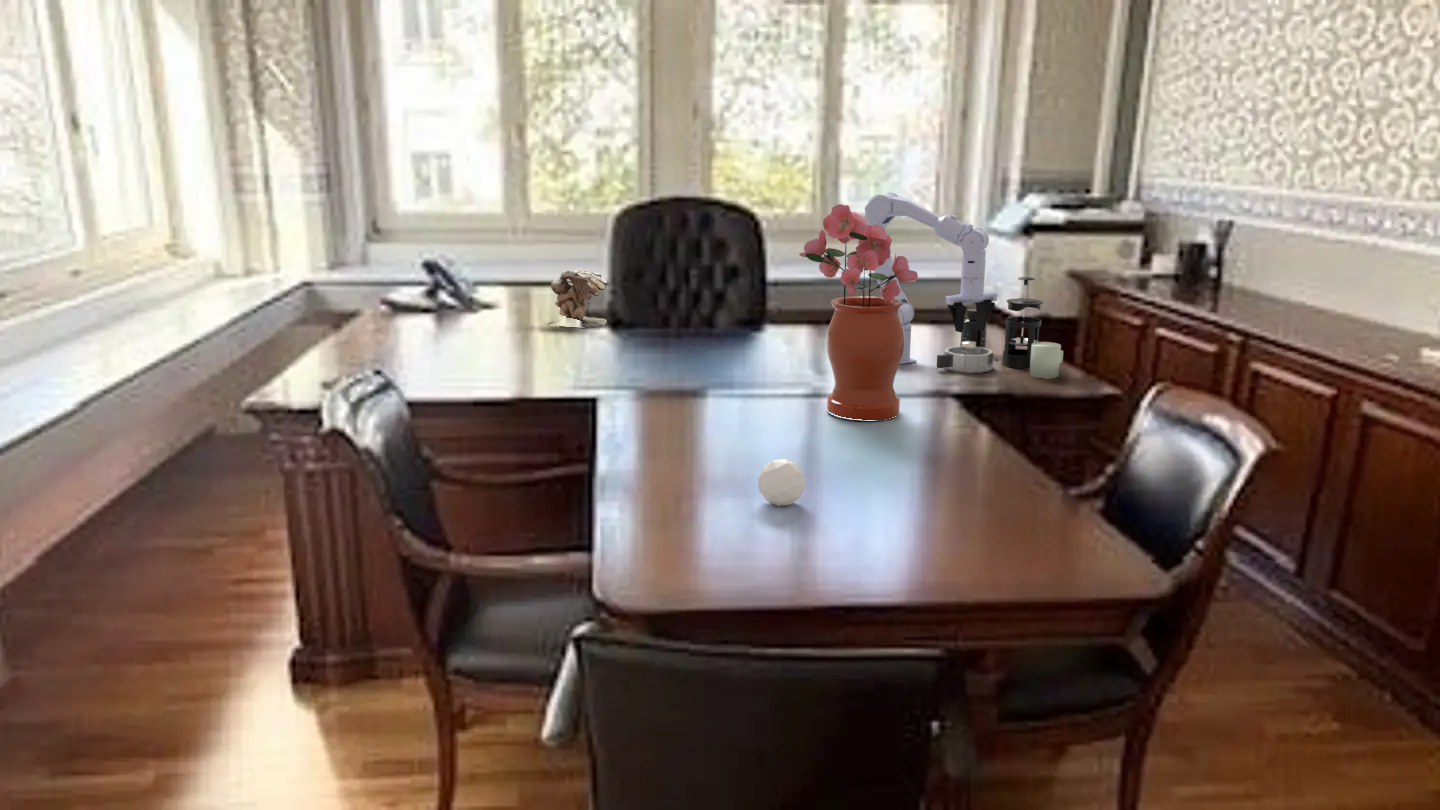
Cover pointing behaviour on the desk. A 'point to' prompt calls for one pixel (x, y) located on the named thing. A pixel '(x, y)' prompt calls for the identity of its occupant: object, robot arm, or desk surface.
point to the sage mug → (1045, 359)
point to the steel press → (966, 360)
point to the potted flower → (862, 318)
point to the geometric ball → (781, 482)
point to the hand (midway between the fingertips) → (969, 330)
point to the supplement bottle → (973, 330)
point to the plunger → (968, 346)
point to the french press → (1022, 356)
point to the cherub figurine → (578, 294)
